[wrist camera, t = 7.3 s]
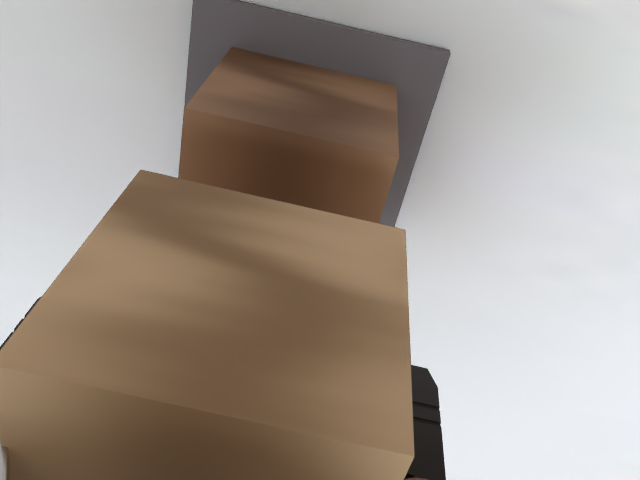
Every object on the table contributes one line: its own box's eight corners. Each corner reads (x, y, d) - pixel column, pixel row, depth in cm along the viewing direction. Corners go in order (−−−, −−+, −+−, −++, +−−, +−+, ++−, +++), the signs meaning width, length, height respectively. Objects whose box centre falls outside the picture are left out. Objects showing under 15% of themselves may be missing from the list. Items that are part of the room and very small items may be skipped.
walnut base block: (214, 191, 25) (170, 279, 20) (231, 46, 21) (184, 107, 16) (357, 223, 25) (349, 319, 20) (396, 85, 22) (399, 157, 17)
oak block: (132, 360, 17) (20, 582, 12) (140, 169, 13) (-12, 364, 8) (345, 407, 17) (326, 645, 12) (405, 229, 13) (414, 455, 8)
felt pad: (178, 209, 26) (175, 214, 25) (196, -10, 21) (193, -7, 20) (383, 255, 26) (383, 260, 26) (449, 50, 21) (450, 53, 21)
